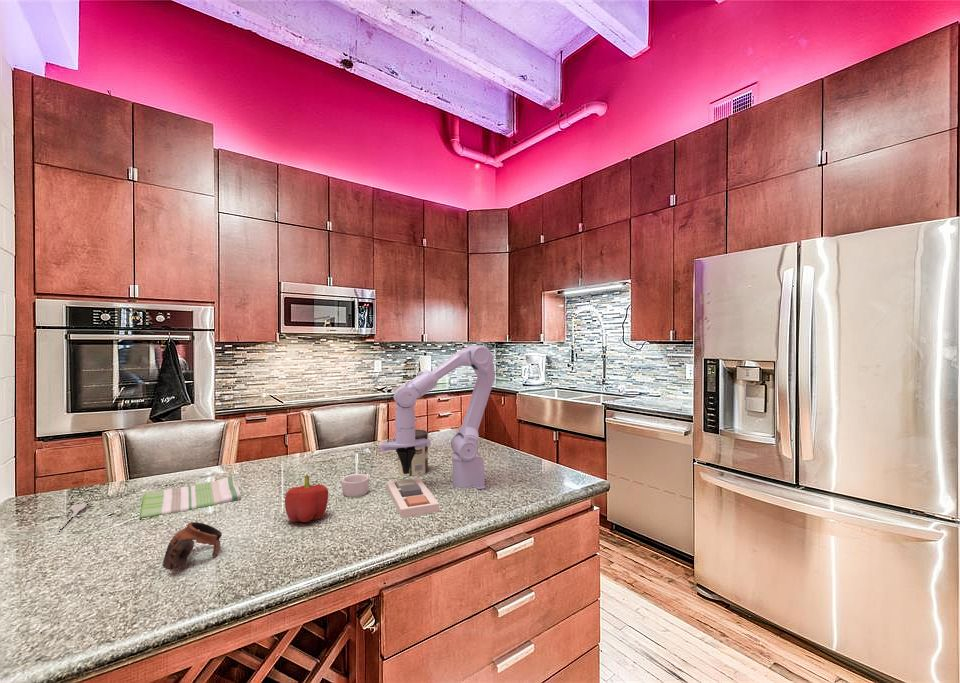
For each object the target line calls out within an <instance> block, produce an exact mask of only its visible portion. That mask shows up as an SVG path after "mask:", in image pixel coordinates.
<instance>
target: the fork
mask: <svg viewBox="0 0 960 683" xmlns="http://www.w3.org/2000/svg"><path fill="white" fill-rule="evenodd" d="M87 504H90V505H93V503H91V502H87V503H86V502H84V503H78V504H74V505H73V506H72V507H71V511H72V512H73V513H72V514H71V515H70V516H71V517H73V518H74V517H76V515H77V514H78V513H79V511H82V510H83V509H85V508H86V507H87V506H88V505H87Z"/></svg>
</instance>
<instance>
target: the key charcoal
mask: <svg viewBox="0 0 960 683" xmlns="http://www.w3.org/2000/svg"><path fill="white" fill-rule="evenodd" d="M415 495H421V488H420V487H419V485H418V484H411V485H403V486H401V496H402V497H409V496H415Z"/></svg>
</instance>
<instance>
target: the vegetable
mask: <svg viewBox="0 0 960 683" xmlns="http://www.w3.org/2000/svg"><path fill="white" fill-rule="evenodd" d="M328 502H329V490H328V488H327V487H326V486H325V485H322V484H320V483H318V484H315V485H311V484H310V477H309V475H304V485H302V486H297V487H295V486H293V487H291V488H290V489H288V490H287V492H286V493H285V496H284V508H285V512H286V515H287V517H288V519H289V520H290V521H291V522H294V523H297V522H301V523H305V522H309V521H312V520H313V521H314V520H319V519H321V518H322V517H323V516H324V514H325V512H326V510H327V507H328Z"/></svg>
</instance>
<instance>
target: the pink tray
mask: <svg viewBox="0 0 960 683" xmlns="http://www.w3.org/2000/svg"><path fill="white" fill-rule="evenodd" d="M411 479H412V480H413V481H414V482H415V484H418V485H419V487H420V488H421V495H424V496H425V498H426V499H427V501H428V504H424V505H418V506H411V507H408V506H407V505H406V497H402V496H401V488H400V489H397V487H396V481H399V480H400V479H399V480H389V481H386V483H385V484H386V486H385V487H386V490H387V493H388V496H389V497H390V498H391V501H392V503H393V504H394V507H395V509H396V510H397V513H398V515H399V517H400V518H401V519H404V518H408V517H414V516H420V515H426V514H433V513H437V512H440V503H439V502H438V499H436V498H435V496H434V495H433V494H432V493H431V491H430V490H429V489H428V487H427V486H426V484H424V482H423V480H422V479H421V478H420V477H415V478H414V477H412V478H411ZM404 480H406V478H405V479H404ZM415 496H418V495H415ZM409 497H412V496H409Z"/></svg>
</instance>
